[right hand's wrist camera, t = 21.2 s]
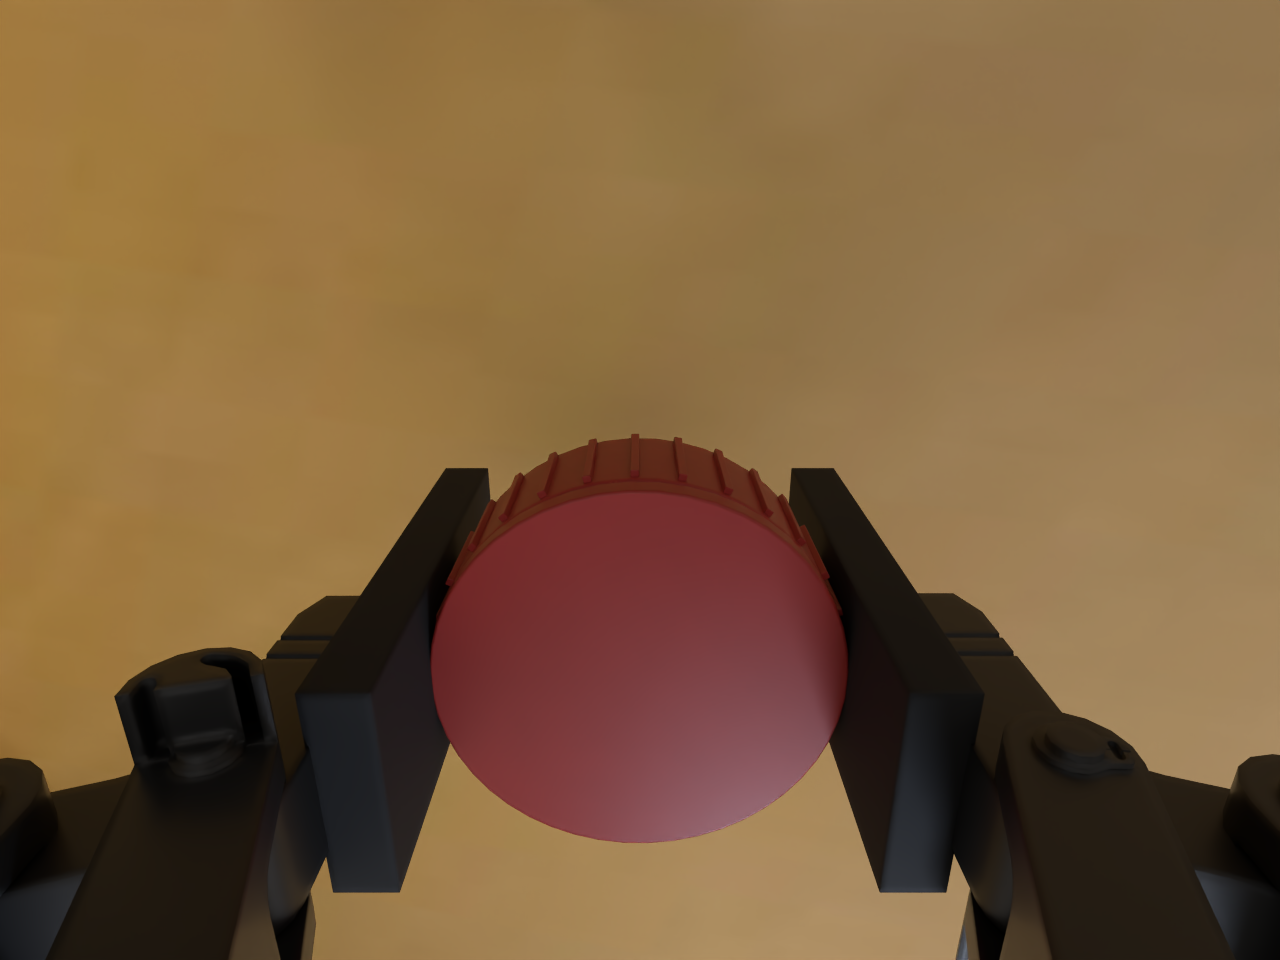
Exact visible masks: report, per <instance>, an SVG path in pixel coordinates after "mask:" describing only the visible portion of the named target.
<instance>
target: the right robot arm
mask: <svg viewBox="0 0 1280 960" xmlns="http://www.w3.org/2000/svg"><path fill="white" fill-rule="evenodd" d="M489 502H490V489H489V476H488V468H446V469H445V470H444V472H443V473H442V475H441V476H440V478H439V479H438V481H437V482H436V484H435V485H434V487H433V488H432V490H431V491H430V493H429V494H428V496H427V497H426V499H425V500H424V502H423V503H422V505H421V506H420V508H419V509H418V511H417V512H416V514H415V515H414V517H413V518H412V520H411V521H410V523H409V524H408V526H407V527H406V528H405V530H404V531H403V533H402V534H401V536H400V537H399V539H398V540H397V542H396V543H395V545H394V546H393V548H392V549H391V551H390V552H389V554H388V555H387V557H386V558H385V560H384V561H383V563H382V564H381V566H380V567H379V569H378V570H377V572H376V573H375V575H374V576H373V578H372V579H371V581H370V582H369V584H368V585H367V587H366V588H365V590H364V591H363V592H362V594H361V595H360V596H326V597H324V598H323V599H321V600H320V601H318V602H316V603H315V604H313V605H312V606H310V607H309V608H307V609H306V610H304V611H302V612H301V613H299V614H298V615H297V616H296V617H295V619H294V620H293V621H292V623H291V624H290V625H289V626H288V628H287V629H286V630H285V631H284V633H283V634H282V635H281V640H277V642H276V643H275V644H274V645H273V647H272V648H271V649H270V651H269V652H268V653H267V657H266V659H262V660H261V659H259V658H258V657H257V656H256V655H254V654H253V653H252V652H250V651H246V650H241V649H236V648H232V647H229V648H207V649H202V650H197V651H193V652H189V653H184V654H180V655H177V656H174V657H172V658H169V659H167V660H164V661H162V662H160V663H157V664H155V665H152V666H150V667H149V668H147V669H146V670H144V671H142V672H141V673H139V674H138V675H136V676H135V677H133V678H132V679H130V680H129V681H128V682H127V683H126V684H125V685H124V686H123V687H122V688H121V690H120V691H119V692H118V693H117V694H116V695H115V696H114V697H115V700H116V704H117V707H118V711H119V714H120V717H121V721H122V724H123V727H124V731H125V734H126V737H127V741H128V744H129V748H130V751H131V754H132V758H133V761H134V764H135V765H134V768H133V770H132V772H131V774H130V775H127V776H123V777H119V778H116V779H111V780H107V781H102V782H97V783H93V784H88V785H83V786H79V787H74V788H69V789H65V790H60V791H55V792H51V793H50V791H49V788H48V785H47V782H46V780H45V777H44V774H43V771H42V770H41V769H40V768H39V767H38V766H36V765H35V764H34V763H32V762H31V761H29V760H21V759H13V758H3V759H0V960H312V953H313V944H314V936H315V927H316V921H315V913H314V906H313V901H312V896H311V892H310V890H311V888H312V886H313V883H314V881H315V879H316V877H317V875H318V873H319V871H320V868H321V866H322V864H323V862H324V860H325V858H327V863H328V868H329V873H330V878H331V884H332V889H333V893H338V892H400V890H401V887H402V884H403V881H404V878H405V875H406V872H407V869H408V866H409V863H410V860H411V857H412V854H413V851H414V848H415V845H416V842H417V839H418V836H419V834H420V831H421V828H422V825H423V822H424V819H425V816H426V813H427V810H428V807H429V804H430V801H431V798H432V795H433V792H434V789H435V786H436V783H437V780H438V777H439V774H440V771H441V768H442V765H443V762H444V759H445V756H446V753H447V750H448V747H449V744H450V741H449V739H448V737H447V736H446V733H445V731H444V729H443V726H442V724H441V721H440V719H439V717H438V714H437V710H436V706H435V701H434V694H433V685H432V676H431V667H430V653H431V643H432V638H433V634H434V629H435V625H436V615H437V613H438V610H439V608H440V606H441V604H442V602H443V600H444V598H445V595H446V593H447V591H448V589H449V587H450V586H448V585H446V581H447V579H448V577H449V575H450V573H451V571H452V569H453V567H454V565H455V563H456V561H457V558H458V556H459V554H460V552H461V550H462V548H463V546H464V544H465V542H466V540H467V538H468V536H469V534H470V532H471V531H473V532H475V530H476V528H477V526H478V524H479V521H480V519H481V517H482V515H483V513H484V511H485V509H486V507H487V504H488V503H489ZM789 505H790V508H791V510H792V512H793V514H794V516H795V518H796V521H797V523H798V525H799V527H801V526H803V525H805V527H806V528H807V530H808V532H809V535H810V537H811V539H812V541H813V543H814V545H815V547H816V549H817V551H818V553H819V555H820V558H821V560H822V562H823V564H824V566H825V568H826V570H827V572H828V574H829V576H830V578H828V581H829V583H830V585H831V587H832V589H833V591H834V594H835V596H836V598H837V600H838V602H839V604H840V606H841V608H842V612H843V615H842V616H840V618H841V621H842V624H843V627H844V631H845V637H846V642H847V648H848V680H847V688H846V696H845V701H844V704H843V707H842V711H841V714H840V718H839V721H838V723H837V725H836V727H835V729H834V732H833V734H832V736H831V738H830V740H829V743H830V746H831V749H832V752H833V755H834V758H835V761H836V764H837V767H838V770H839V773H840V776H841V778H842V781H843V784H844V787H845V790H846V793H847V796H848V799H849V802H850V805H851V808H852V811H853V814H854V817H855V820H856V823H857V826H858V829H859V832H860V835H861V838H862V841H863V844H864V847H865V850H866V853H867V856H868V859H869V862H870V865H871V868H872V871H873V874H874V877H875V880H876V882H877V885H878V888H879V891H880V892H946V891H947V886H948V881H949V876H950V871H951V865H952V860H953V855H955V857H956V859H957V861H958V863H959V865H960V868H961V870H962V872H963V874H964V876H965V878H966V880H967V883H968V885H969V887H970V892H969V896H968V901H967V906H966V911H965V916H964V920H963V925H962V930H961V935H960V940H959V944H958V949H957V954H956V960H968V959H969V960H1280V755H1274V754H1271V755H1263V756H1255V757H1250V758H1249V759H1247V760H1246V761H1245V762H1243V763H1242V764H1241V765H1240V766H1238V769H1237V772H1236V775H1235V778H1234V780H1233V783H1232V786H1231V789H1227V788H1222V787H1218V786H1213V785H1208V784H1203V783H1199V782H1194V781H1189V780H1185V779H1180V778H1175V777H1171V776H1166V775H1162V774H1158V773H1155V772H1151V771H1148V768H1147V766H1146V764H1145V763H1144V761H1143V760H1142V759H1141V757H1140V756H1139V755H1138V753H1137V752H1136V751H1135V749H1134V748H1133V747H1132V746H1131V745H1130V744H1128V743H1127V742H1126V741H1124V740H1123V739H1122V738H1120V737H1119V736H1118V735H1116V734H1115V733H1113V732H1112V731H1111V730H1108V729H1106V728H1104V727H1102V726H1100V725H1098V724H1096V723H1094V722H1091V721H1089V720H1087V719H1085V718H1081V717H1077V716H1073V715H1069V714H1065V713H1062V712H1061V711H1060V710H1059V708H1058V707H1057V706H1056V705H1055V703H1054V702H1053V701H1052V699H1051V698H1050V697H1049V696H1048V694H1047V693H1046V692H1045V691H1044V689H1043V688H1042V687H1041V686H1040V684H1039V683H1038V682H1037V681H1036V679H1035V678H1034V677H1033V676H1032V674H1031V673H1030V672H1029V670H1028V669H1027V668H1026V667H1025V665H1024V664H1023V663H1022V662H1021V660H1020V659H1019V658H1018V657H1017V656H1014V654H1013V650H1012V649H1011V648H1010V646H1009V645H1008V644H1007V643H1006V641H1005V640H1004V639H1003V638H999V633H998V631H997V630H996V629H995V628H994V626H993V625H992V624H991V623H990V621H989V620H988V619H987V617H986V616H985V615H984V614H983V612H982V611H980V610H978V609H977V608H975V607H974V606H972V605H971V604H969V603H967V602H966V601H964V600H963V599H961V598H960V597H958V596H957V595H955V594H953V593H917V592H916V590H915V589H914V587H913V586H912V584H911V583H910V581H909V580H908V578H907V577H906V575H905V574H904V572H903V571H902V569H901V568H900V566H899V565H898V563H897V562H896V561H895V559H894V558H893V556H892V555H891V553H890V552H889V550H888V549H887V547H886V546H885V544H884V543H883V541H882V540H881V538H880V537H879V535H878V534H877V532H876V531H875V529H874V528H873V526H872V525H871V523H870V522H869V520H868V519H867V517H866V516H865V514H864V513H863V511H862V510H861V508H860V507H859V505H858V504H857V502H856V501H855V499H854V498H853V496H852V495H851V494H850V492H849V491H848V489H847V488H846V486H845V485H844V483H843V482H842V480H841V479H840V477H839V476H838V474H837V473H836V471H835V470H834V468H792V470H791V483H790V496H789Z"/></svg>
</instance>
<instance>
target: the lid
mask: <svg viewBox="0 0 1280 960" xmlns="http://www.w3.org/2000/svg"><path fill="white" fill-rule="evenodd" d="M828 578H830V576H829V574H828V572H827V570H826V568H825V566H824V564H823V562H822V560H821V558H820V555H819V553H818V551H817V549H816V547H815V545H814V543H813V541H812V539H811V537H810V535H809V532H808V530H807V528H806V527H805V525H803V526H801V527H799V525H798V523H797V521H796V518H795V516H794V514H793V512H792V510H791V508H790V505H789V503H788V501H787V499H786V498H785V496H784V495H783V494H781V495H780V496H779V497H777V496H776V494H775V493H774V492H773V491H772V490H771V489H770V488H769V487H768V486H767V485H766V484H764V483H763V482H762V481H761V479H760V477H759V474H758V472H757V471H756V470H754V469H753V468H752V469H751V470H750V471H748V470H746V469H744V468H742V467H741V466H739V465H737V464H736V463H734V462H732V461H730V460H729V459H727V458H725V457H724V456H723V453H722V451H720V450H718V449H715V451H714V453H713V452H710V451H708V450H706V449H703V448H699V447H695V446H692V445H688V444H684V443H682V438H677V437H674V441H667V440H660V439H639V434H632V435H631V438H629V439H620V440H610V441H603V442H599V443H597V439H592V440H589V443H588V445H586V446H582V447H579V448H576V449H574V450H571V451H568V452H566V453H563V454H560V455H558V454H557V453H556V452H554V453H552V454H550V455H549V458H548V461H547V462H545V463H543V464H541V465H539V466H537V467H536V468H534V469H533V470H531V471H530V472H529V473H527V474H526V475H524V476H523V475H522V473H519V474H517V475H516V476H515V478H514V480H513V483H512V485H511V487H510V488H509V489H508V490H507V491H506V492H505V493H504V494H503V495H502V496H501V497H500V498H499V499H498V500H497V502H495V501H494V500H492V499H491V500H490V502H489V503H488V504H487V507H486V509H485V511H484V513H483V515H482V517H481V519H480V521H479V524H478V526H477V528H476V530H475V532H473V531H471V532H470V534H469V536H468V538H467V540H466V542H465V544H464V546H463V548H462V550H461V552H460V554H459V556H458V558H457V561H456V563H455V565H454V567H453V569H452V571H451V573H450V575H449V577H448V579H447V581H446V585H448V586H450V587H449V589H448V591H447V593H446V595H445V598H444V600H443V602H442V604H441V606H440V608H439V610H438V613H437V615H436V625H435V629H434V634H433V638H432V643H431V653H430V667H431V676H432V685H433V694H434V701H435V706H436V710H437V714H438V717H439V719H440V721H441V724H442V726H443V729H444V731H445V733H446V736H447V737H448V739H449V741H450V742H451V744H452V746H453V748H454V749H455V751H456V753H457V754H458V756H459V757H460V758H461V760H462V761H463V762H464V763H465V765H466V766H467V767H468V768H469V770H470V771H471V772H472V773H473V774H474V775H475V776H476V777H477V778H478V779H479V780H480V781H481V782H482V783H483V784H484V785H485V786H486V787H487V788H488V789H489V790H490V791H491V792H493V793H494V794H495V795H497V796H498V797H499V798H501V799H502V800H503V801H505V802H506V803H507V804H508V805H510V806H512V807H514V808H515V809H517V810H519V811H520V812H522V813H524V814H525V815H527V816H529V817H531V818H533V819H535V820H537V821H540V822H542V823H544V824H546V825H549V826H551V827H554V828H557V829H560V830H563V831H566V832H569V833H572V834H575V835H579V836H584V837H589V838H593V839H598V840H605V841H614V842H623V843H653V842H664V841H674V840H680V839H685V838H690V837H696V836H699V835H703V834H706V833H710V832H713V831H716V830H720V829H722V828H725V827H727V826H730V825H732V824H734V823H737V822H739V821H742V820H744V819H746V818H747V817H749V816H751V815H753V814H755V813H757V812H758V811H760V810H762V809H764V808H765V807H767V806H768V805H770V804H771V803H772V802H774V801H775V800H777V799H778V798H779V797H781V796H782V795H784V794H785V793H786V792H787V791H788V790H789V789H790V788H791V787H792V786H794V785H795V784H796V783H797V782H798V781H799V780H800V779H801V778H802V777H803V776H804V775H805V774H806V772H807V771H808V770H809V769H810V768H811V767H812V765H813V764H814V763H815V762H816V761H817V759H818V758H819V756H820V754H821V753H822V751H823V750H824V748H825V747H826V745H827V744H828V742H829V740H830V738H831V736H832V734H833V732H834V729H835V727H836V725H837V723H838V721H839V718H840V714H841V711H842V707H843V704H844V701H845V696H846V688H847V680H848V648H847V642H846V637H845V631H844V627H843V624H842V621H841V618H840V616H842V615H843V612H842V608H841V606H840V604H839V602H838V600H837V598H836V596H835V594H834V591H833V589H832V587H831V585H830V583H829V581H828Z"/></svg>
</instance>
